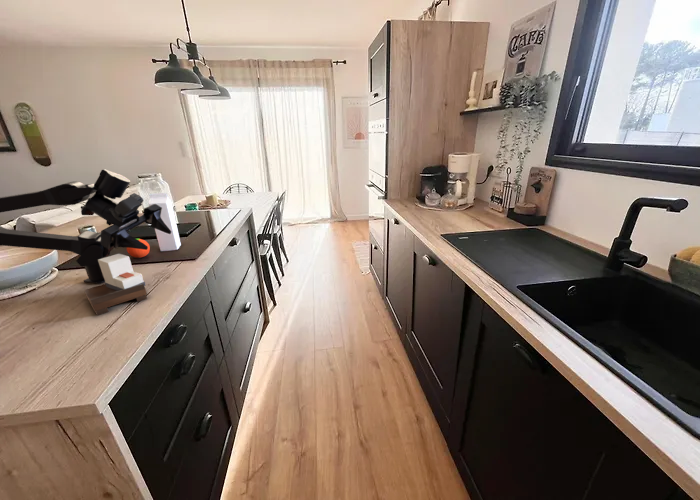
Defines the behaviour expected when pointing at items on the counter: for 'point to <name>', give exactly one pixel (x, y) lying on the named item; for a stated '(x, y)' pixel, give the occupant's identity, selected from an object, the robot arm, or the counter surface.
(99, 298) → the brown wooden stand
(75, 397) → the counter surface
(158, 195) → the milk
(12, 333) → the counter surface
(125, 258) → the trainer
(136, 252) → the clementine
